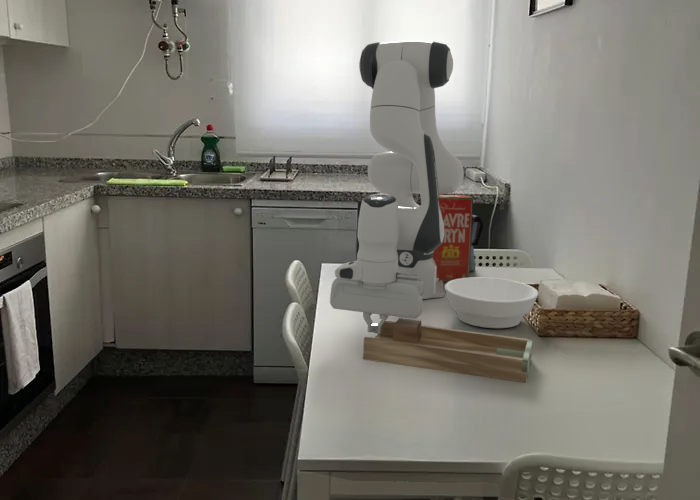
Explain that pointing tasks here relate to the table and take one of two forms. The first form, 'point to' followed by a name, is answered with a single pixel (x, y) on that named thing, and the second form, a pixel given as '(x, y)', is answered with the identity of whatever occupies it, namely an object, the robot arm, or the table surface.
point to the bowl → (490, 301)
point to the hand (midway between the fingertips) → (374, 332)
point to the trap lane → (455, 352)
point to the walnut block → (407, 330)
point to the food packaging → (454, 237)
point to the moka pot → (474, 225)
